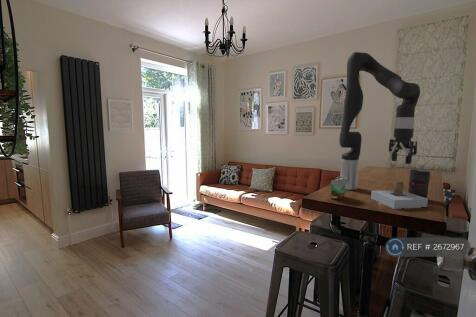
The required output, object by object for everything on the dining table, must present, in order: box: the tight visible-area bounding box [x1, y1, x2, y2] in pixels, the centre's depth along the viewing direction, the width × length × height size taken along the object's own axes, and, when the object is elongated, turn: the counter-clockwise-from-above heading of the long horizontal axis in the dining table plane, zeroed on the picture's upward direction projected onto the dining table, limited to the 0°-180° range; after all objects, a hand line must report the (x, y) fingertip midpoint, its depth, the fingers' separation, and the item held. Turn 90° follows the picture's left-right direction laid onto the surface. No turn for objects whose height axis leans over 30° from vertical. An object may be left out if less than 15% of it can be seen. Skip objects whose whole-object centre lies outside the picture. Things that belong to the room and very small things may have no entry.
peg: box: [393, 180, 404, 196], centre depth 117 cm, size 4×4×10 cm
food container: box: [330, 175, 347, 200], centre depth 126 cm, size 12×6×10 cm, turn 143°
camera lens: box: [407, 168, 431, 198], centre depth 122 cm, size 8×8×15 cm
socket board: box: [370, 189, 429, 210], centre depth 118 cm, size 16×16×4 cm
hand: (400, 162), depth 115 cm, fingers open, 8 cm apart
